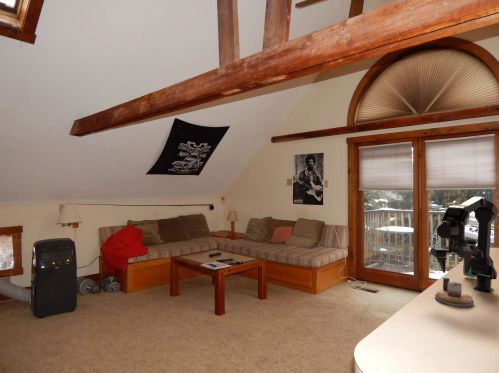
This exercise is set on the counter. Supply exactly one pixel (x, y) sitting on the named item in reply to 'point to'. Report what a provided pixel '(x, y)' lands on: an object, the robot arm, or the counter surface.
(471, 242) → the beverage bottle
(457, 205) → the robot arm
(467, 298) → the turntable
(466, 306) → the base
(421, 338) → the counter surface
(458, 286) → the cover
